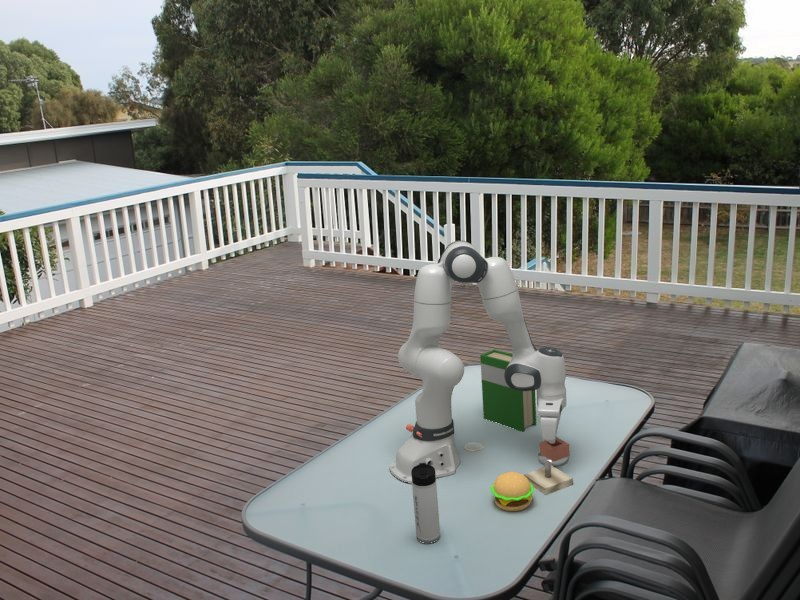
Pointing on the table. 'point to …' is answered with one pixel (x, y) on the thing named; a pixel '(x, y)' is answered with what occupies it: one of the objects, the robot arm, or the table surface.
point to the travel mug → (425, 503)
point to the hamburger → (512, 491)
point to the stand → (549, 479)
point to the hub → (555, 463)
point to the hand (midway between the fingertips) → (552, 441)
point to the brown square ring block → (554, 449)
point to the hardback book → (504, 394)
